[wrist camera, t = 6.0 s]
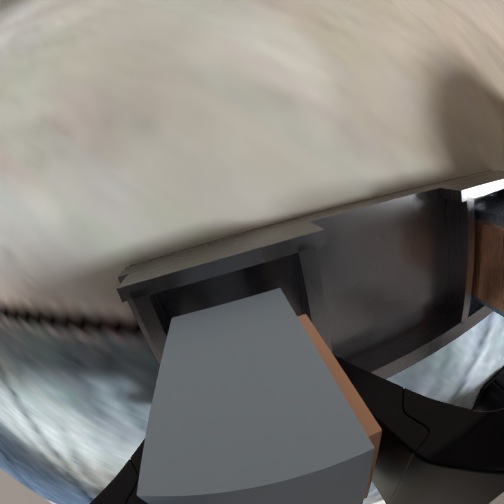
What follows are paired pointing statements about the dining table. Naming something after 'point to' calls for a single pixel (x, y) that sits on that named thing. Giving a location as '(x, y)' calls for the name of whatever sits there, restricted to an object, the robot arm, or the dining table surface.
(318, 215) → the rail
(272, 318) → the block
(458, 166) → the dining table surface
